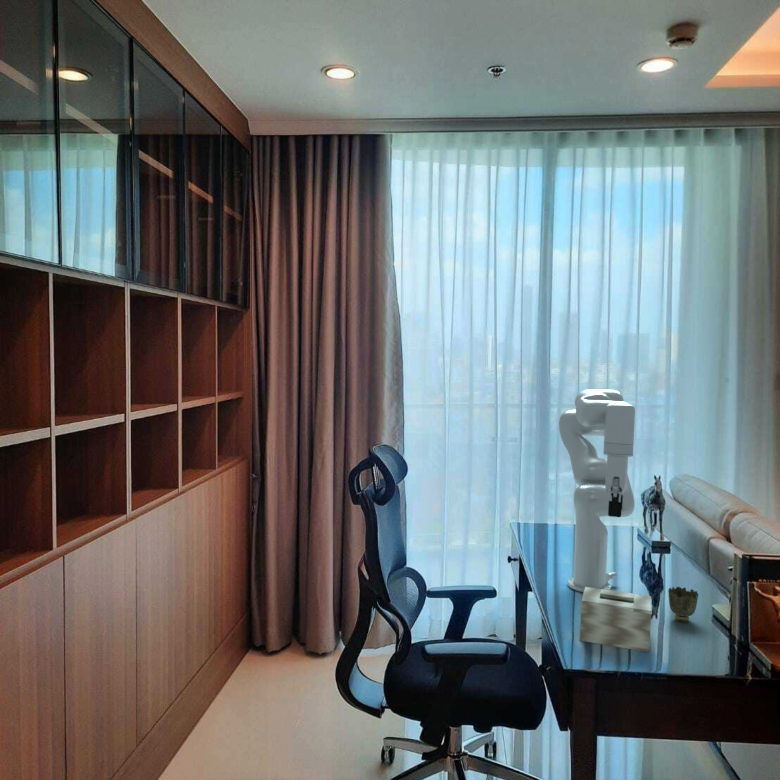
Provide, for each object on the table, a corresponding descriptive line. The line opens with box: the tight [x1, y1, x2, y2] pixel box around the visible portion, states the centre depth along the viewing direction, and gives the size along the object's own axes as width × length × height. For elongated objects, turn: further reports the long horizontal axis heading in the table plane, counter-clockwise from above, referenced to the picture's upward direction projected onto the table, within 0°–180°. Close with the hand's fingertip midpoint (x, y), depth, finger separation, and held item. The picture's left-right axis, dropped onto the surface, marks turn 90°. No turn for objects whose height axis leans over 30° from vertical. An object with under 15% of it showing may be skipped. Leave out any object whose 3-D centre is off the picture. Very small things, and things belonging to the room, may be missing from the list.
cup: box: [668, 586, 699, 623], centre depth 182 cm, size 8×7×8 cm
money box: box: [579, 587, 652, 653], centre depth 168 cm, size 16×11×10 cm
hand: (615, 512), depth 182 cm, fingers open, 9 cm apart
